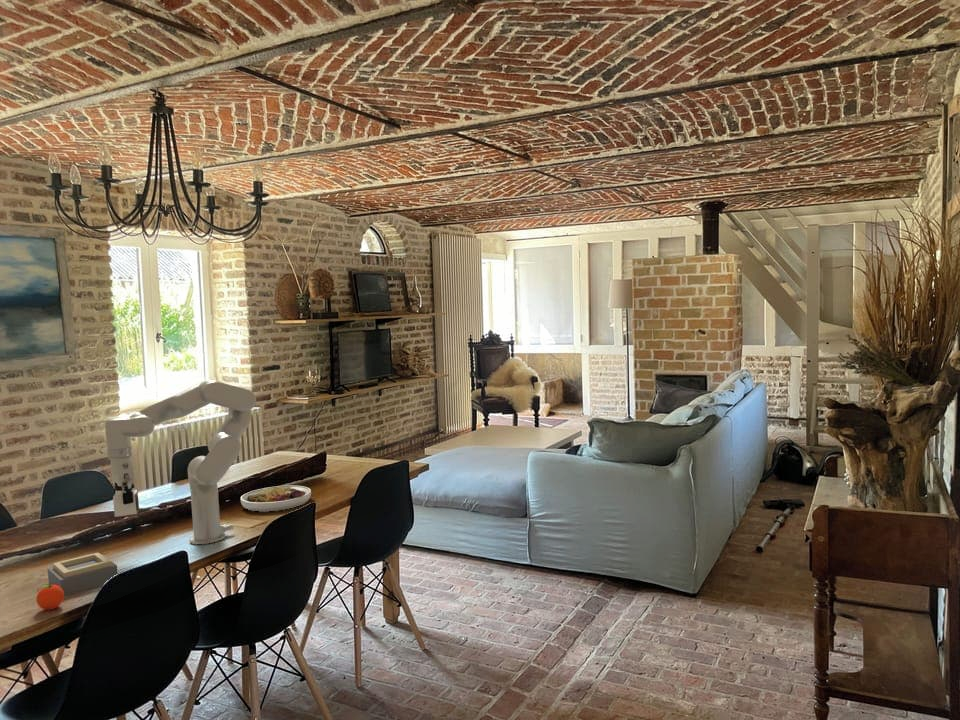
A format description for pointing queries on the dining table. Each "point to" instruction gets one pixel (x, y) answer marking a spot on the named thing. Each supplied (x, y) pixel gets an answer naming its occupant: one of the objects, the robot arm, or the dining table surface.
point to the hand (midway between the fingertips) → (123, 501)
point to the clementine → (50, 597)
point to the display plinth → (81, 573)
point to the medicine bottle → (122, 508)
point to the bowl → (275, 498)
